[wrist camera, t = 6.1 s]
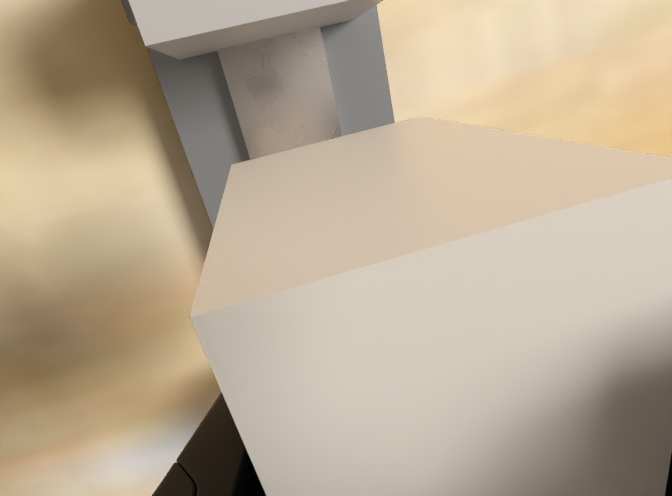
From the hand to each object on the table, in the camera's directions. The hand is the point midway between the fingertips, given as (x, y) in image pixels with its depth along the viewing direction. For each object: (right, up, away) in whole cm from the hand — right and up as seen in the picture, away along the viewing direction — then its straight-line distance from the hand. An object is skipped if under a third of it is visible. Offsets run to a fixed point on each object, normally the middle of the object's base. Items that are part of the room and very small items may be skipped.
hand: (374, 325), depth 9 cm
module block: (0, +1, +1) cm, 2 cm away
